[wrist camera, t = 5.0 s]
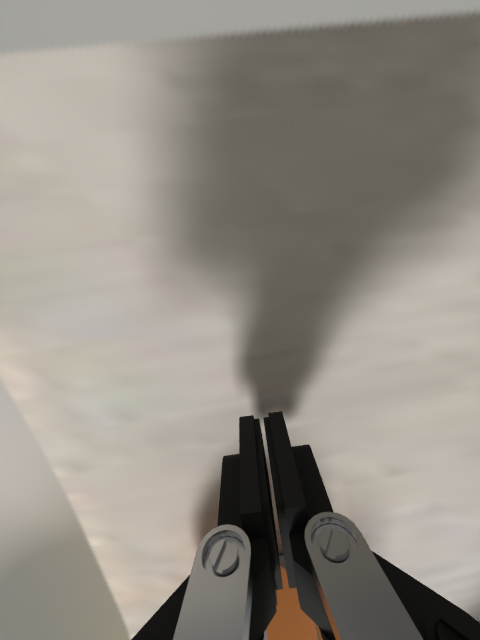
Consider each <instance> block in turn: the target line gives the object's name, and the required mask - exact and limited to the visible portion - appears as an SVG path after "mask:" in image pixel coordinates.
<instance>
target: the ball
mask: <svg viewBox="0 0 480 640" xmlns="http://www.w3.org/2000/svg"><path fill="white" fill-rule="evenodd" d="M280 569H281V576H282V584H283V589H281V590H276V594H277V604H278V605H276V609H277V612H276V614H275V615H274V617H273V619H272V620H271V622H270V624H269V625H268V627H267V636H268V637H267V640H318V635H317V631H316V627H315V623H314V621H312V620H311V619H310V618H309V617H308V616H307V615H306V614H305V613H304V612H303V611H302V610H301V609H300V603H299V600H298V594H297V588H290V589H289V585H288V578H287V572H286V570H285V569H284V568H283V567H282V566H281V565H280Z"/></svg>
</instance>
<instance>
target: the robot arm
mask: <svg viewBox="0 0 480 640" xmlns="http://www.w3.org/2000/svg"><path fill="white" fill-rule="evenodd" d="M268 415H269V417H265V418H264V425H265V432H266V439H267V446H268V453H269V460H270V467H271V474H272V481H273V488H274V495H275V502H276V508H277V515H278V521H279V528H280V534H281V540H282V547H283V553H284V559H285V566H286V572H287V578H288V585H289V589H290V588H297V594H298V600H299V603H300V609H301V610H302V611H303V612H304V613H305V614H306V615H307V616H308V617H309V618H310V619H311V620H312V621H314V622H315V623H316V627H317V632H318V635H319V638H320V640H480V622H478V621H476V620H475V619H474V618H473V617H471V616H470V615H469V614H468V613H466V612H465V611H463V610H462V609H460V608H459V607H457V606H456V605H454V604H453V603H451V602H450V601H448V600H446V599H445V598H443V597H442V596H440V595H439V594H437V593H436V592H434V591H433V590H431V589H430V588H428V587H426V586H425V585H423V584H422V583H420V582H419V581H417V580H416V579H414V578H413V577H411V576H410V575H408V574H406V573H405V572H403V571H402V570H400V569H399V568H397V567H396V566H394V565H393V564H391V563H390V562H388V561H386V560H385V559H383V558H382V557H380V556H379V555H377V554H376V553H374V552H373V551H371V549H370V547H369V546H368V544H367V542H366V541H365V539H364V537H363V535H362V534H361V532H360V530H359V529H358V528H357V527H356V525H355V524H354V523H353V522H352V521H351V520H349V519H348V518H347V517H345V516H343V515H341V514H339V513H334V512H333V509H332V506H331V504H330V501H329V498H328V495H327V492H326V490H325V487H324V484H323V481H322V478H321V476H320V473H319V470H318V467H317V464H316V461H315V459H314V456H313V453H312V450H311V448H310V446H309V445H302V446H295V447H291V444H290V440H289V436H288V432H287V428H286V425H285V421H284V417H283V413H282V411H280V412H273V413H268ZM239 442H240V454H236V455H228V456H224V457H223V462H222V475H221V488H220V501H219V515H218V527H216V528H214V529H212V530H211V531H210V532H208V533H207V534H206V535H205V537H204V538H203V539H202V541H201V542H200V544H199V547H198V549H197V552H196V556H195V559H194V563H193V567H192V570H191V574H190V575H189V576H188V577H187V579H186V580H185V581H184V582H183V583H182V584H181V585H180V586H179V587H178V589H177V590H176V591H175V592H174V593H173V594H172V595H171V596H170V597H169V599H168V600H167V601H166V602H165V603H164V604H163V605H162V606H161V607H160V609H159V610H158V611H157V612H156V613H155V614H154V615H153V616H152V617H151V619H150V620H149V621H148V622H147V623H146V624H145V625H144V626H143V627H142V629H141V630H140V631H139V632H138V633H137V634H136V635H135V636H134V637H133V639H132V640H267V637H268V636H267V627H268V625H269V624H270V622H271V620H272V619H273V617H274V615H275V614H276V612H277V609H276V605H278V604H277V594H276V590H281V589H283V584H282V576H281V569H280V561H279V553H278V545H277V538H276V530H275V522H274V514H273V507H272V499H271V491H270V484H269V476H268V470H267V464H266V458H265V452H264V445H263V439H262V433H261V427H260V421H259V418H258V419H254V417H253V415H251V416H244V417H240V418H239Z"/></svg>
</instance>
